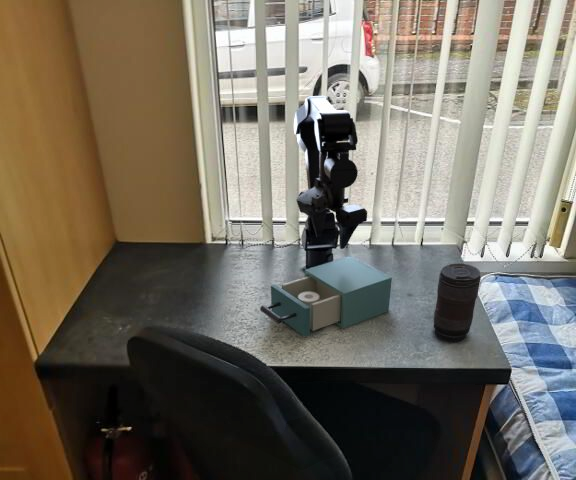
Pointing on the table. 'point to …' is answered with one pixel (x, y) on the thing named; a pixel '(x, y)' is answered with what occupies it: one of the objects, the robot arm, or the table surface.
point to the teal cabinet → (355, 288)
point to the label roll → (309, 298)
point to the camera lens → (456, 301)
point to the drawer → (304, 305)
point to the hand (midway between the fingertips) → (330, 242)
